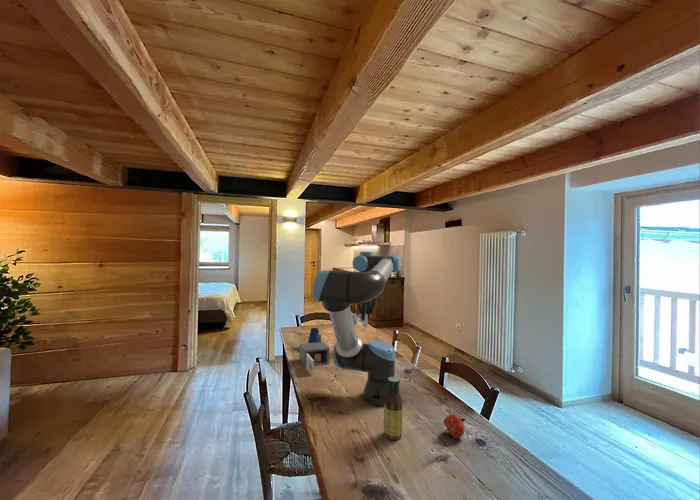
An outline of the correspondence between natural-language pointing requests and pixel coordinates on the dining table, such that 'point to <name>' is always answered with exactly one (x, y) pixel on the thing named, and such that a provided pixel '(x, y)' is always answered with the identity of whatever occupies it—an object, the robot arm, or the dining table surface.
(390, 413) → the sauce bottle
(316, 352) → the block
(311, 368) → the door
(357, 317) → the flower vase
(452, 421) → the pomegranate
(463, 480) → the dining table surface
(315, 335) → the blue block
